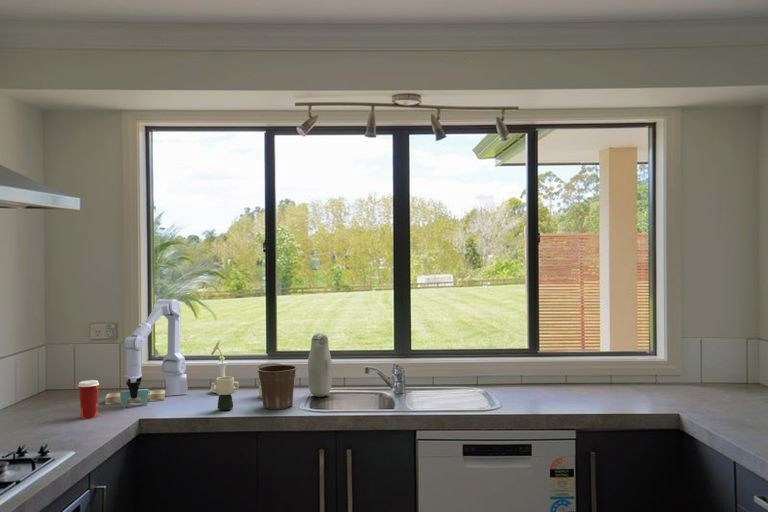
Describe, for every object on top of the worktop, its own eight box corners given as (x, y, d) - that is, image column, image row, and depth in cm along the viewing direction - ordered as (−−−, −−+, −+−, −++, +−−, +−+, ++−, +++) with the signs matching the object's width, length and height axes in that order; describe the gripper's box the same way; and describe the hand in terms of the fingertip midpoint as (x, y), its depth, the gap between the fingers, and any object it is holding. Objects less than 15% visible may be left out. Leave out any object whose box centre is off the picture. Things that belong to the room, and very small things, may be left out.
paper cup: (104, 415, 256) (103, 380, 256) (87, 420, 249) (87, 384, 250) (90, 414, 260) (89, 379, 260) (73, 418, 253) (73, 382, 253)
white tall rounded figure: (304, 397, 286) (303, 334, 286) (319, 393, 294) (318, 331, 295) (321, 399, 280) (320, 335, 281) (336, 395, 289) (335, 333, 289)
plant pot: (261, 412, 258) (261, 372, 258) (254, 404, 273) (253, 366, 273) (301, 408, 264) (300, 369, 264) (292, 400, 279) (291, 363, 279)
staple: (148, 403, 277) (148, 388, 277) (148, 405, 274) (148, 390, 274) (120, 405, 274) (120, 390, 274) (120, 407, 271) (120, 392, 271)
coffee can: (269, 393, 296) (269, 362, 296) (286, 395, 290) (286, 364, 290) (253, 397, 287) (253, 365, 287) (271, 399, 281) (270, 367, 281)
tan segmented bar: (164, 396, 292) (164, 389, 292) (164, 400, 284) (164, 393, 284) (107, 400, 285) (107, 393, 285) (105, 404, 276) (105, 397, 276)
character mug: (239, 407, 269) (238, 375, 269) (238, 410, 262) (238, 378, 262) (212, 408, 266) (211, 377, 266) (211, 412, 259) (210, 380, 259)
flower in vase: (215, 389, 305) (215, 337, 305) (238, 390, 303) (238, 337, 303) (204, 395, 292) (203, 340, 292) (228, 396, 290) (227, 340, 290)
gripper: (125, 362, 280) (125, 394, 279) (122, 367, 266) (123, 400, 266) (142, 361, 282) (142, 392, 282) (140, 366, 268) (141, 399, 268)
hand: (134, 396), depth 274 cm, fingers open, 6 cm apart
